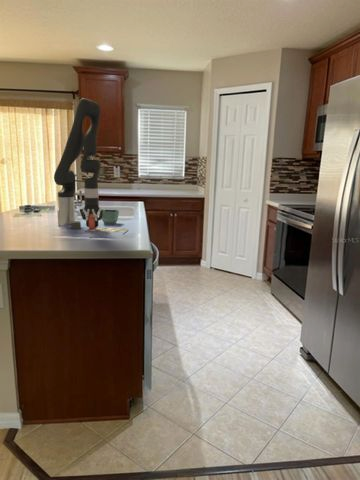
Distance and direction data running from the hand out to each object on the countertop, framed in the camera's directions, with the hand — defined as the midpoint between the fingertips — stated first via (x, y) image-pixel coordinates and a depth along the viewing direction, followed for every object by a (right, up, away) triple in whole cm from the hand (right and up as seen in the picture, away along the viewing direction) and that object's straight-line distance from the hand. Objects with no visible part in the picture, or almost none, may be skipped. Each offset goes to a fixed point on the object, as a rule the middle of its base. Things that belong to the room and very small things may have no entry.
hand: (92, 226), depth 198 cm
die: (-10, -2, +1) cm, 10 cm away
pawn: (0, -1, 0) cm, 1 cm away
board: (+8, -3, 0) cm, 9 cm away
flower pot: (+6, +2, +20) cm, 21 cm away
